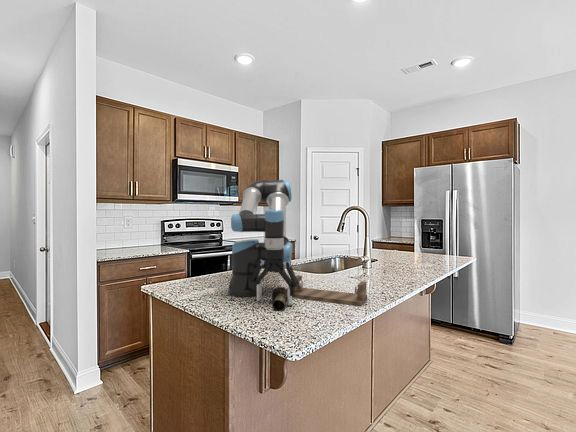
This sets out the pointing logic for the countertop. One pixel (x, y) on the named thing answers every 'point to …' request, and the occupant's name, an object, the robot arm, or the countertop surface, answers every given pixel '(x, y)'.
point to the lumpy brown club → (279, 298)
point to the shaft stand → (331, 294)
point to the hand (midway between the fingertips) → (274, 302)
